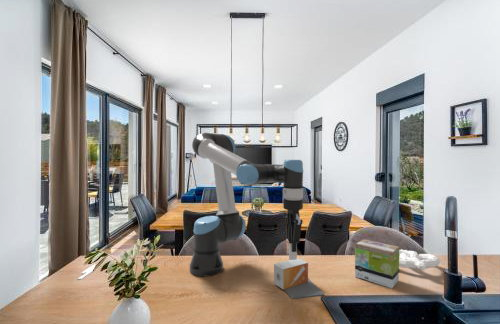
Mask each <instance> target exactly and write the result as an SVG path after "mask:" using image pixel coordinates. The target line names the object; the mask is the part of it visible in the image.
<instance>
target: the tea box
mask: <svg viewBox="0 0 500 324" xmlns="http://www.w3.org/2000/svg"><path fill="white" fill-rule="evenodd" d="M354 248H355V249H354V252H355V253H354V254H355V255H354V276H355V278H359V279H363V280H365V281H368V282H371V283H374V284H377V285H380V286H384V287H386V288H389V289H393V288H394V286H396V284H397V283H398V282H399V281H400V279H399V278H400V267H399V250H400V246H398V245H397V246H396V245H393V244H387V243H383V242H378V241H374V240H370V239H364V238H363V239H361V240H360V241H358V242H357V243H355V247H354Z"/></svg>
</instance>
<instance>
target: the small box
mask: <svg viewBox="0 0 500 324" xmlns="http://www.w3.org/2000/svg"><path fill="white" fill-rule="evenodd" d="M308 278H309V262H307V261H305V260H304V259H301V258H299V257H297V259H296V260H290V259H289V260H284V261H280V262H276V263H274V264H273V284H274V285H276V286H277V287H279V288H280V289H281V290H284V291H285V289H287V288H290V287H293V286H296V285H300V284H303V283H306V282H308Z"/></svg>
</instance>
